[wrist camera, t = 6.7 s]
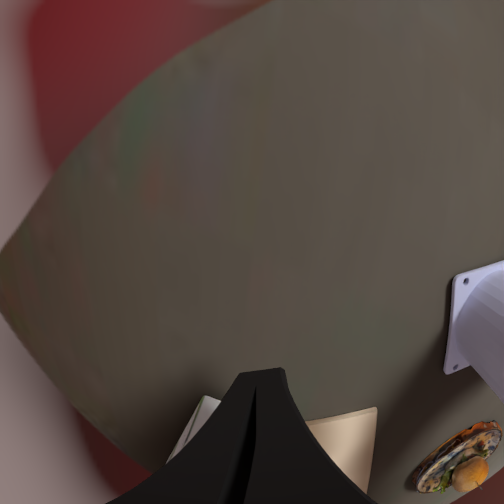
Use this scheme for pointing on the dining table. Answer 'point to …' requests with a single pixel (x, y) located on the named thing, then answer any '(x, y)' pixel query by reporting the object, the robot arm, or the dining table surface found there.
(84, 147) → the dining table surface
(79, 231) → the dining table surface
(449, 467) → the burger
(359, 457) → the beige folded napkin
